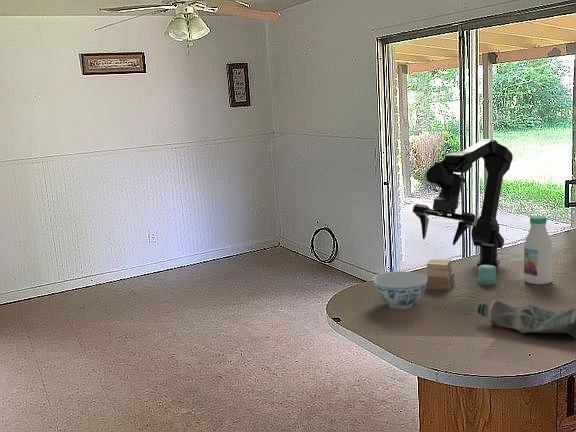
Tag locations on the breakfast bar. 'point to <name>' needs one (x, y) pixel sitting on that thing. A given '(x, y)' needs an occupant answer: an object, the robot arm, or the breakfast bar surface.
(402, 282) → the chinaware
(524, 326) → the crushed plastic bottle
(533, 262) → the milk bottle
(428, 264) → the top block
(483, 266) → the teal cylinder
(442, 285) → the base block
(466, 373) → the breakfast bar surface
